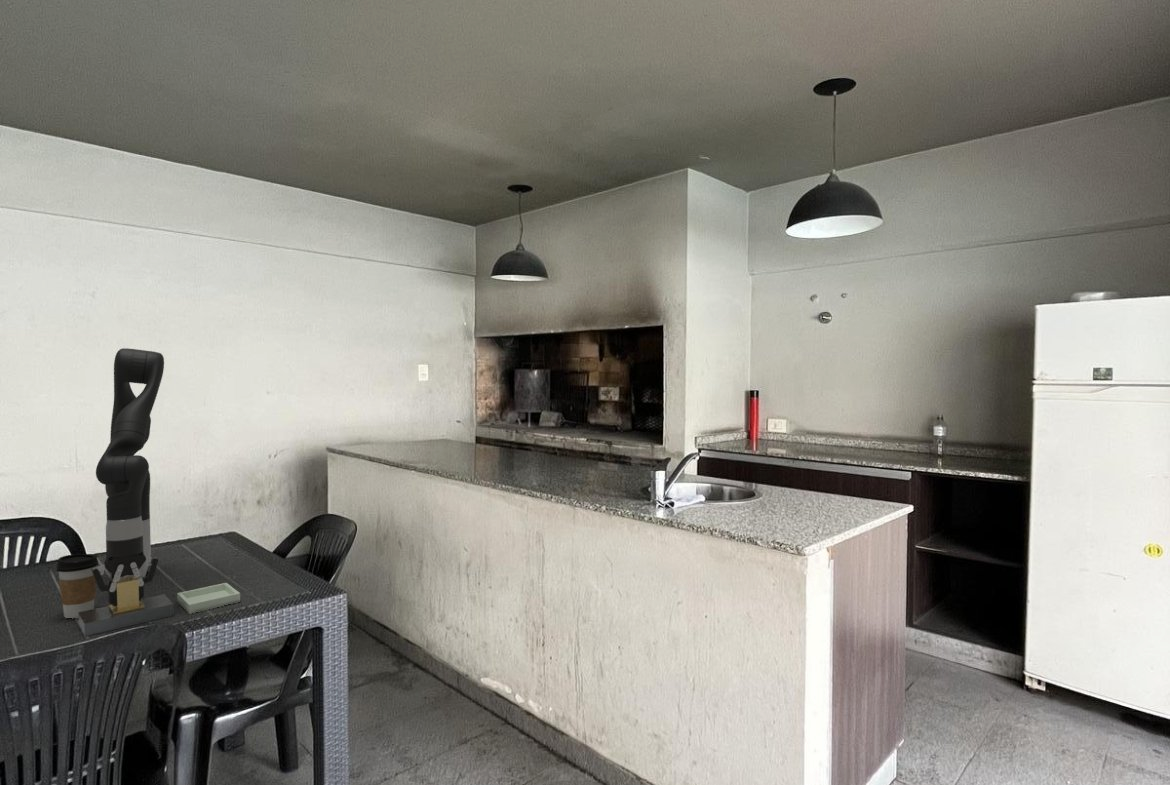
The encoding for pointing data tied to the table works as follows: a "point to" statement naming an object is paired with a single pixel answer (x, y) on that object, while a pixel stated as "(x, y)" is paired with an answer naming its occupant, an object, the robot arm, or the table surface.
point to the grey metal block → (124, 616)
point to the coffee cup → (77, 583)
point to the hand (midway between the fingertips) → (126, 602)
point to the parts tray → (208, 598)
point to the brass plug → (127, 596)
